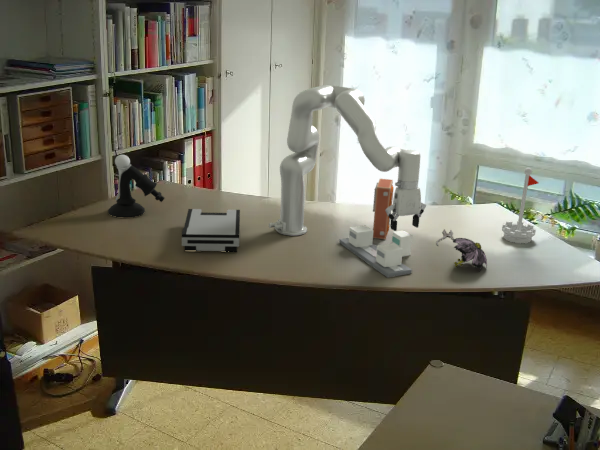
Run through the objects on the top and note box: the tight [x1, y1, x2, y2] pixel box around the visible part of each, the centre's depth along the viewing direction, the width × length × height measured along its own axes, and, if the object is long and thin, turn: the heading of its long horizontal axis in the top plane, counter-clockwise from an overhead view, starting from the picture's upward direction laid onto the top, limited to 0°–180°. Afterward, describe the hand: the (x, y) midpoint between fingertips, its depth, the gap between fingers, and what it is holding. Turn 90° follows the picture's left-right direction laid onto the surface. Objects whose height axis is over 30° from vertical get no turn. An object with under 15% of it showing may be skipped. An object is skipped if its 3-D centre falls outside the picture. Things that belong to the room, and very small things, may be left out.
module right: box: [376, 242, 403, 267], centre depth 247 cm, size 7×6×6 cm
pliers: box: [435, 228, 460, 247], centre depth 279 cm, size 10×1×20 cm
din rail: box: [347, 237, 403, 272], centre depth 257 cm, size 4×34×1 cm, turn 26°
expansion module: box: [390, 230, 414, 258], centre depth 261 cm, size 5×6×8 cm
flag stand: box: [501, 167, 539, 244], centre depth 278 cm, size 13×13×30 cm
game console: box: [181, 208, 241, 253], centre depth 267 cm, size 21×32×8 cm, turn 4°
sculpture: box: [107, 154, 165, 218], centre depth 290 cm, size 15×24×25 cm, turn 94°
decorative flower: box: [452, 237, 488, 273], centre depth 251 cm, size 15×12×15 cm
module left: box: [348, 225, 374, 247], centre depth 264 cm, size 7×6×6 cm
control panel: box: [372, 178, 394, 240], centre depth 278 cm, size 21×7×15 cm
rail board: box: [338, 237, 413, 279], centre depth 257 cm, size 10×35×2 cm, turn 26°
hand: (404, 228), depth 259 cm, fingers open, 9 cm apart
